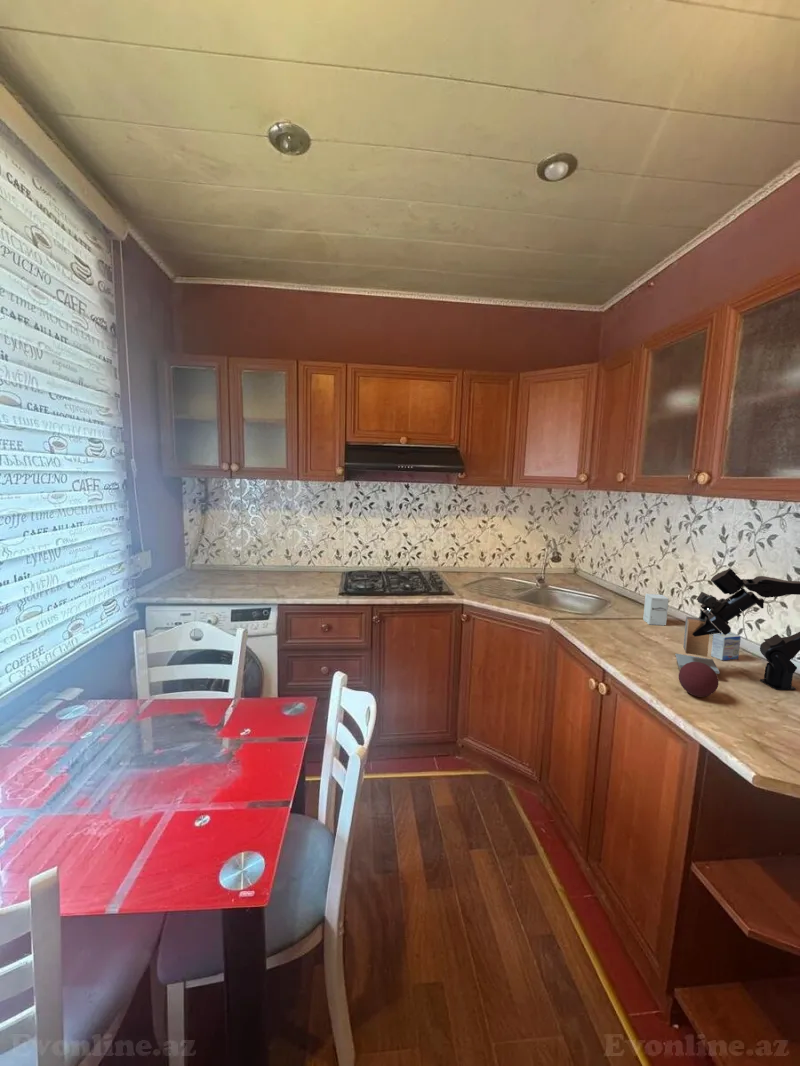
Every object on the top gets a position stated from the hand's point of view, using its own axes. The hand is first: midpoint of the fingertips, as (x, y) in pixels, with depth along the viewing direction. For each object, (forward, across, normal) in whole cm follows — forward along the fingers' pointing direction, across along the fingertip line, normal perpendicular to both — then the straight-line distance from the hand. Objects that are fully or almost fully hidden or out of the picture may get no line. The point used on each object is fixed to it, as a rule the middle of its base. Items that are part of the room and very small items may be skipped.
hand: (691, 632), depth 150 cm
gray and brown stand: (+8, 0, +11) cm, 13 cm away
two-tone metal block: (+4, 0, +6) cm, 7 cm away
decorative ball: (+10, +20, +9) cm, 24 cm away
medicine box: (0, -19, +19) cm, 27 cm away
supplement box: (+14, -53, +5) cm, 55 cm away
